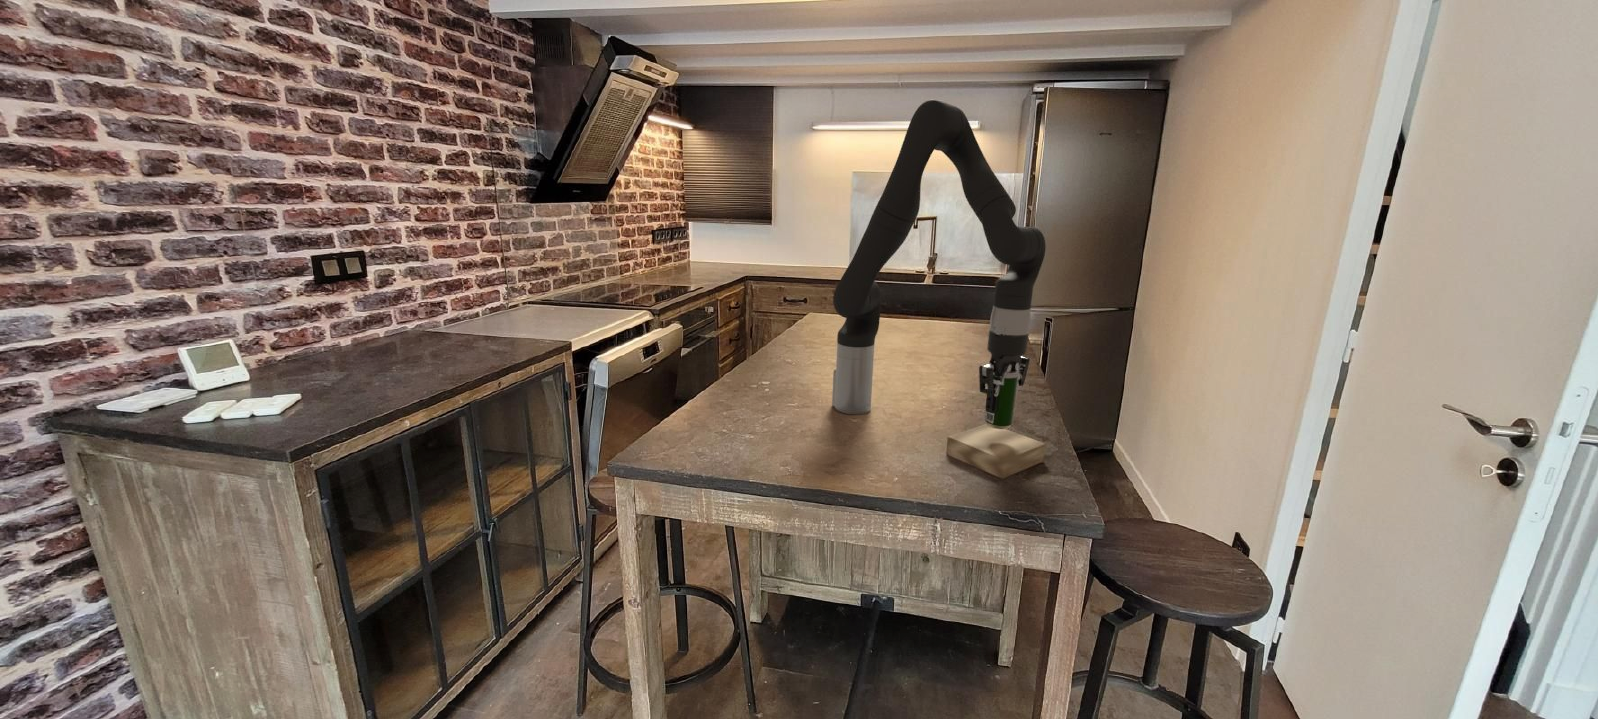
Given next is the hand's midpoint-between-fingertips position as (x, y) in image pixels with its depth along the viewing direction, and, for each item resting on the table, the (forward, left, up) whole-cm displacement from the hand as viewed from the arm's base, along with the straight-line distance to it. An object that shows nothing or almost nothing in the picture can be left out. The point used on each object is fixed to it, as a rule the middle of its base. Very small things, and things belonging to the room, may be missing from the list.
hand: (999, 409), depth 126 cm
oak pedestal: (0, 0, -11) cm, 11 cm away
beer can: (0, 0, -4) cm, 4 cm away
